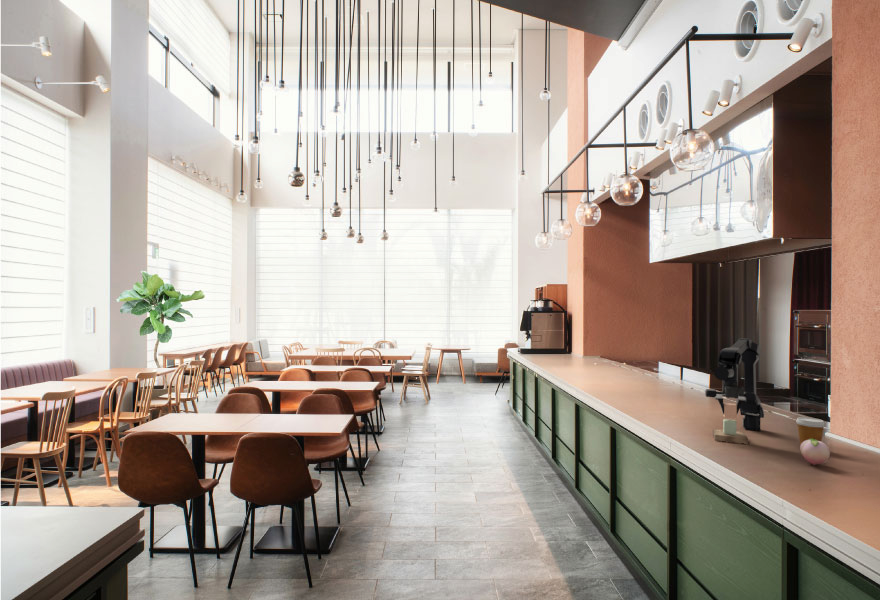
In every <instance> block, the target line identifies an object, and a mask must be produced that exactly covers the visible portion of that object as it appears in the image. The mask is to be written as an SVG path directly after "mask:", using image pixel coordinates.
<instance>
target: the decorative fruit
mask: <svg viewBox="0 0 880 600" xmlns="http://www.w3.org/2000/svg"><path fill="white" fill-rule="evenodd" d="M799 449H800V450H799V451H800V452H801V455H802V456H803V458H804V459H805V460H806V461H807V462H809V464H811V465H813V466H815V465H818V464H823V463H824V462H826V461H827V460H829V457H830V455H831V453H830V452H831V451H830V448H829V447H828V446H827V444H825V443H824V442H823V441H821V442H820V441H817V440H816V439H815V437H814V439H809V440H806V441H804V442H803V443H802V444H801V446H799Z"/></svg>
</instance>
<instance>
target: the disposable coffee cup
mask: <svg viewBox="0 0 880 600" xmlns="http://www.w3.org/2000/svg"><path fill="white" fill-rule="evenodd" d="M795 422H796V425H797V431H798V438H799V445H800V446H801V444H802V443H803V442H804V441H806V440H809V439H814V437H815V439H816V440H817V441H820V442H822V439H823V433H824V427H825V425H826V424H825V422H824V420H822V419H819V418H814V417H806V416H805V417H804V416H799V417H797V418H796V420H795ZM800 446H799V447H800Z"/></svg>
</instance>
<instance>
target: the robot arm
mask: <svg viewBox="0 0 880 600" xmlns="http://www.w3.org/2000/svg"><path fill="white" fill-rule="evenodd" d="M761 353H762V350H761V347H760V345H759V344H757V343H755V342H753V341H752V340H751V338H744V337H743V338H742V337H741V338H738V339H737V340H736V342H735V343H734V344H733V345H731V346H730V347H725V348H722V349H721V350H720V351H719V355H718V358H717V362H716V365H718V367H716V368H715V369H714V373H713V374H714V377H715V378H716V379H717V380H720V381H722V387H721V388H722V390H721V391H717V390H716V389H714V388H706V389H705V392H704V394H705V397H706V398H714V399H715V400H717V402H718V403H719V407H720V409H721V412H722V414H724V404H723V403H724V398H723V397H725V398H727V399H730V398H731V399H733V398H734V399H736V402H735V404H736V405H737V415H738V413H739V412H740V415H741V416H743V418H742V427H743V429H744V430H747V431H758V432H762V429H761V419H764V418H765V411H764V407H763V405H762V403H761V399H760V398H759V396H758V394H757V371H756V370H757V368H756V367H757V365H756V364H757V363H758V361H759V360H760V356H761ZM741 362H742V363H743V373H744V375H743V376H744V378H743V381H744V386H739V377H738V375H739V371H738V370H739V366H740V364H741Z"/></svg>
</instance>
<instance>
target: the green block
mask: <svg viewBox="0 0 880 600" xmlns="http://www.w3.org/2000/svg"><path fill="white" fill-rule="evenodd" d="M722 420H723V423H722V426H723V427H722V430H723V432H724V434H730V435H736V431H737V425H738V424H737V420H736V419H729V418H723V419H722Z"/></svg>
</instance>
